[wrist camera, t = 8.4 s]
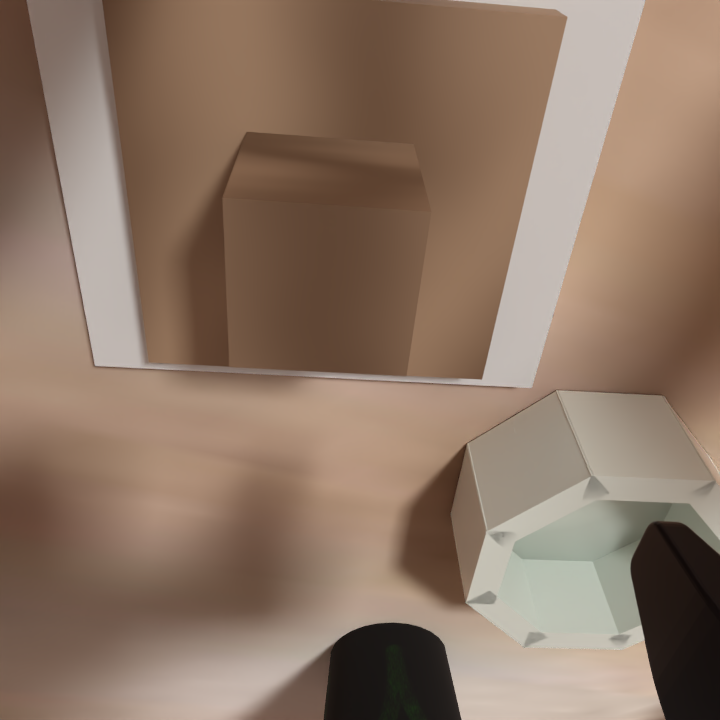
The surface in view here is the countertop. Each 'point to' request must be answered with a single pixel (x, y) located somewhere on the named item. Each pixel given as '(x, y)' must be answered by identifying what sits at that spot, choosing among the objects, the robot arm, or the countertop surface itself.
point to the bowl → (575, 514)
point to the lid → (327, 176)
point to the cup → (390, 676)
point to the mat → (128, 349)
